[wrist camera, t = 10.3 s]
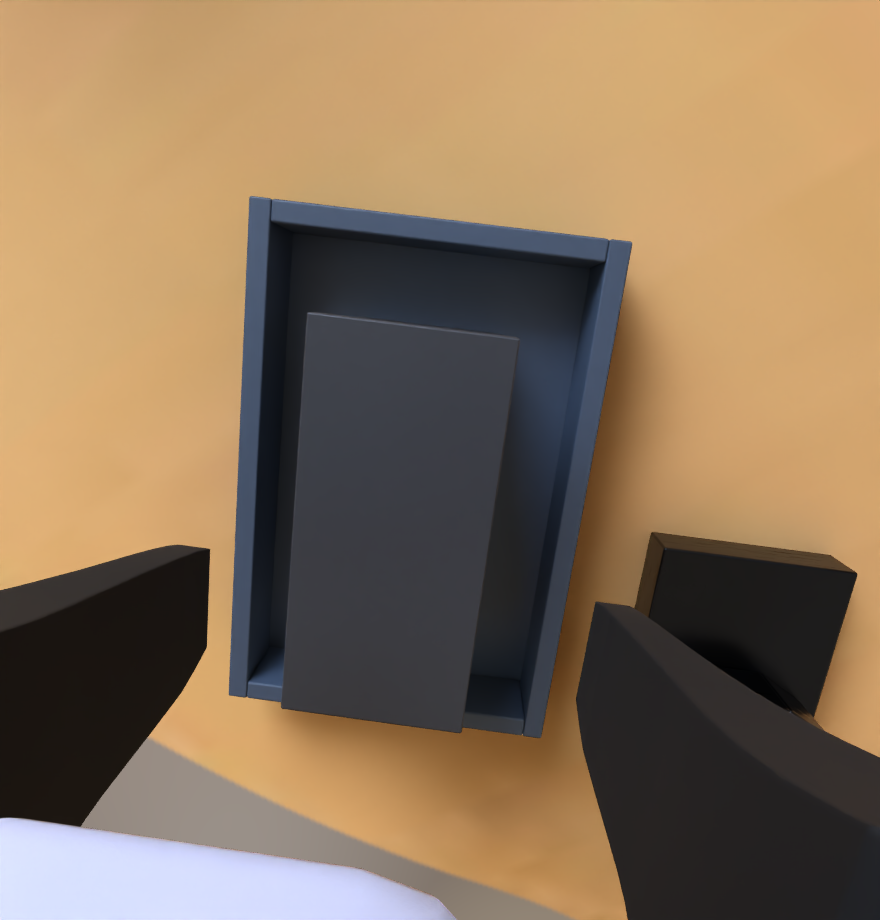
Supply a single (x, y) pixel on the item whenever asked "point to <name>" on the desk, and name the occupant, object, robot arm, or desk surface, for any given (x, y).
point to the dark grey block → (393, 516)
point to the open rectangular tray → (528, 430)
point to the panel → (751, 612)
